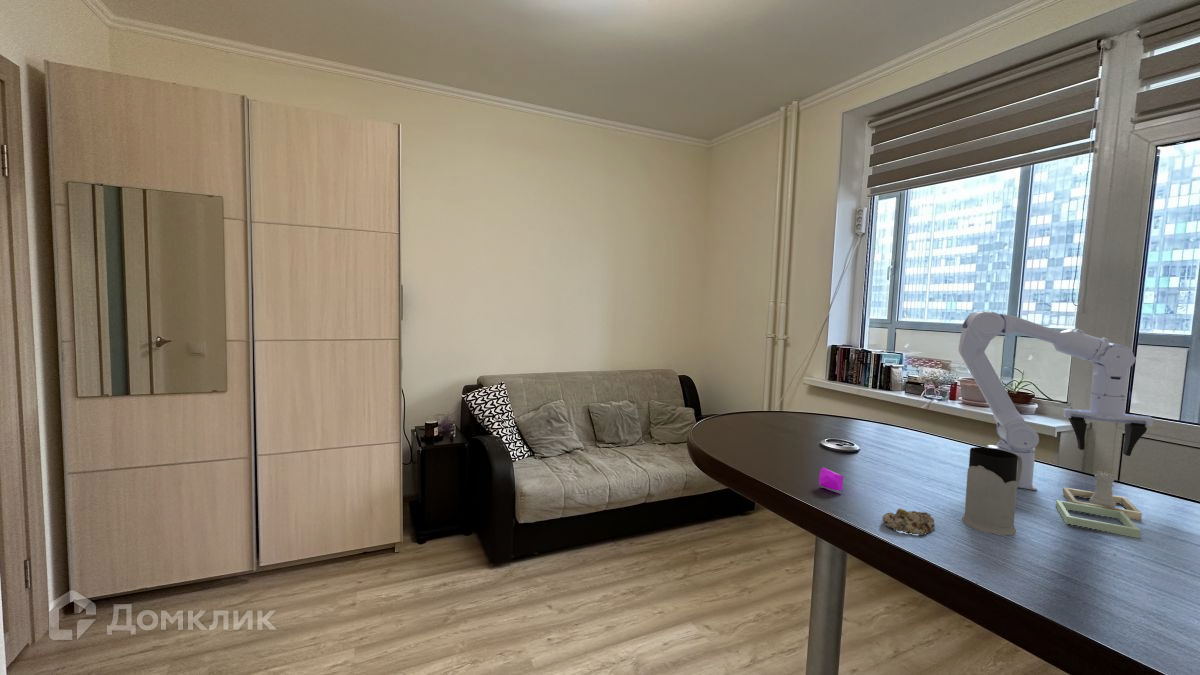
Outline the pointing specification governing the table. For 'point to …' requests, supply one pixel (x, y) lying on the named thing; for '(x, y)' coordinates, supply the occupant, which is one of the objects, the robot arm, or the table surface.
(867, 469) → the table surface
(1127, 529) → the sage square frame
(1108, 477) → the rook chess piece
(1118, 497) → the beige square frame
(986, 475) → the beige black oval cylinder
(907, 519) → the mineral rock
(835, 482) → the crystal
